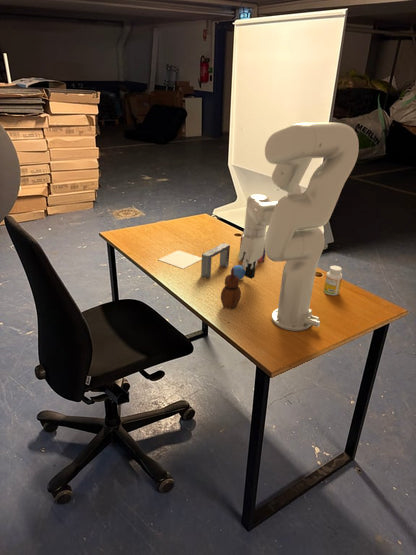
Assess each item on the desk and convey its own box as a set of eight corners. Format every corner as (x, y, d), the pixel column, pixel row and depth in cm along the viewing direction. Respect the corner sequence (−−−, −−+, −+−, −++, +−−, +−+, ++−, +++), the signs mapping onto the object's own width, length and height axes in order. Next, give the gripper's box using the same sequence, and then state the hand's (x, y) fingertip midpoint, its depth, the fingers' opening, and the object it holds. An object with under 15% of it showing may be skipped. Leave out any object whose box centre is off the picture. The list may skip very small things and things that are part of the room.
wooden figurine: (232, 313, 137) (236, 271, 131) (217, 307, 140) (220, 266, 133) (242, 304, 143) (246, 264, 136) (227, 299, 145) (230, 259, 139)
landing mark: (203, 258, 175) (203, 258, 175) (183, 269, 165) (183, 268, 165) (178, 250, 182) (178, 250, 181) (158, 260, 172) (158, 259, 172)
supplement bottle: (332, 287, 157) (337, 263, 152) (341, 294, 152) (347, 270, 148) (320, 289, 155) (325, 265, 151) (329, 296, 151) (334, 271, 146)
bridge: (228, 266, 170) (230, 244, 165) (207, 278, 159) (208, 256, 155) (222, 264, 171) (223, 242, 167) (201, 276, 160) (201, 254, 156)
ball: (246, 263, 158) (234, 262, 162) (239, 267, 154) (226, 267, 157) (249, 276, 160) (237, 276, 163) (241, 282, 156) (229, 281, 159)
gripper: (256, 222, 156) (251, 267, 164) (234, 233, 145) (229, 280, 153) (274, 227, 152) (268, 273, 160) (252, 239, 141) (247, 287, 150)
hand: (249, 276), depth 157 cm, fingers closed
